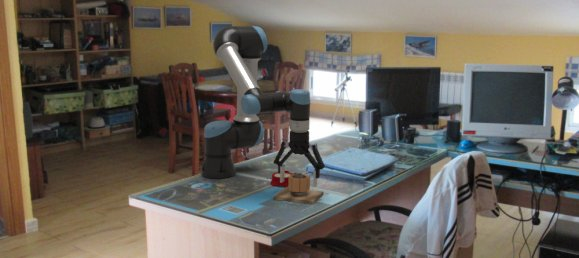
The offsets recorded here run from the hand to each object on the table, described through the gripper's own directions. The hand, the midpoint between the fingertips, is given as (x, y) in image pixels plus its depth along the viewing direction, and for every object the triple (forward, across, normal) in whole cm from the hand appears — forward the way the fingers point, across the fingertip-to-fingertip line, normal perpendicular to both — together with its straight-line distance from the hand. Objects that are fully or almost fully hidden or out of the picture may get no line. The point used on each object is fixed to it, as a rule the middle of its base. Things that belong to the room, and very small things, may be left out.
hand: (298, 183), depth 224 cm
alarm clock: (+6, -12, +16) cm, 20 cm away
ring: (+2, 0, 0) cm, 2 cm away
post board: (+5, 0, 0) cm, 5 cm away
